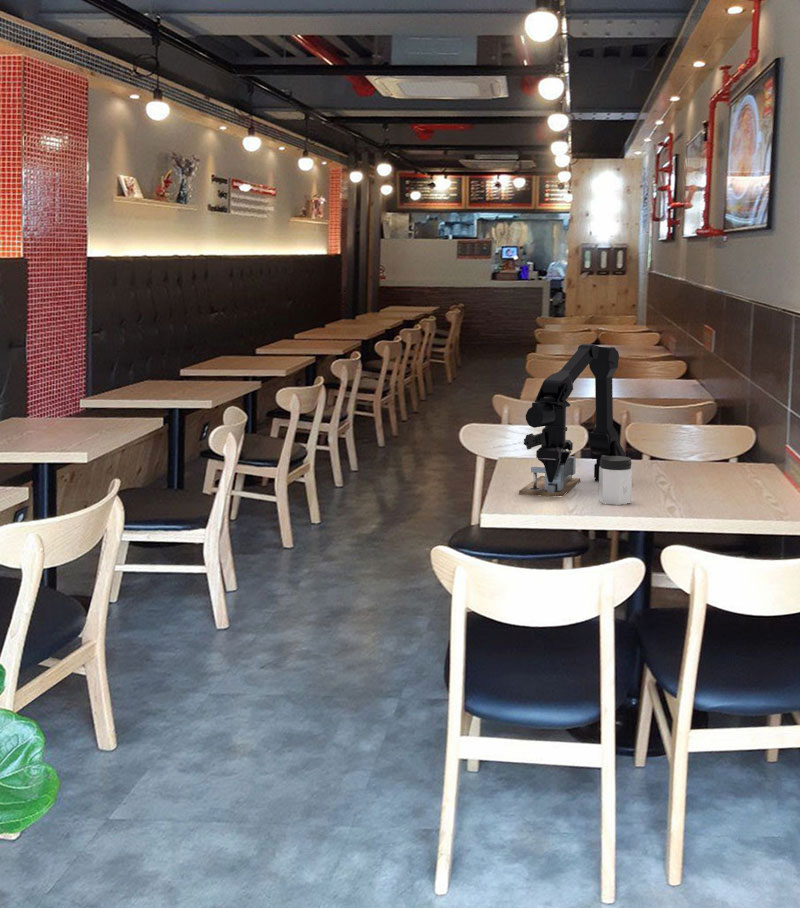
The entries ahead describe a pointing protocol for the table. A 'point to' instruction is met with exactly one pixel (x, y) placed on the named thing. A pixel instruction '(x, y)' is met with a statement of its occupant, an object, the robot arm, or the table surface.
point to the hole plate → (541, 490)
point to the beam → (565, 474)
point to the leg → (557, 479)
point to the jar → (615, 480)
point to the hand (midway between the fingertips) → (554, 479)
